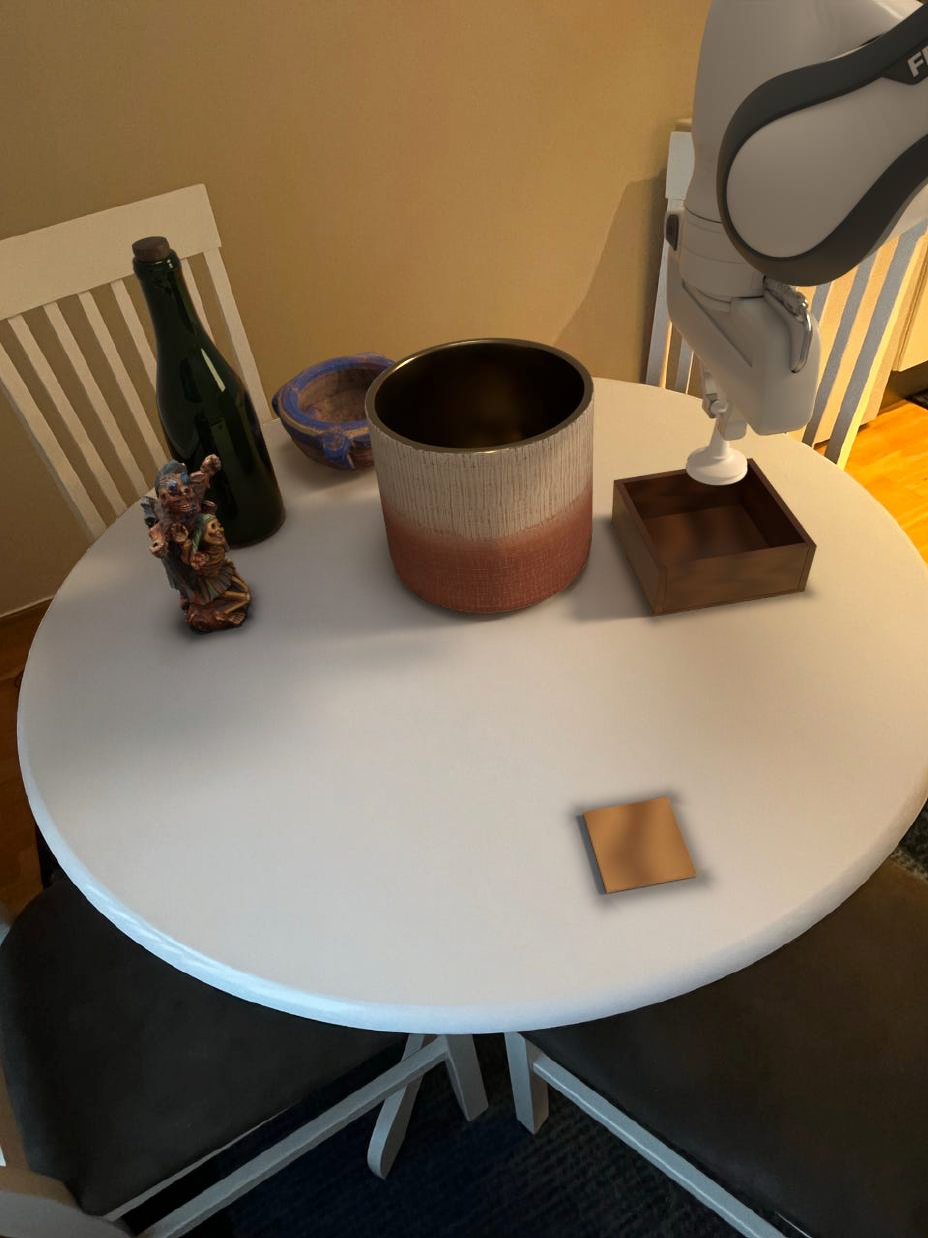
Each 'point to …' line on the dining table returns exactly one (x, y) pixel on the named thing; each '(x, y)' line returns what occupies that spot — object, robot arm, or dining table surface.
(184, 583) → the figurine
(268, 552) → the dining table surface
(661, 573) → the crate
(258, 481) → the green wine bottle
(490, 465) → the planter
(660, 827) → the coaster
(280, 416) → the bowl
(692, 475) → the chess piece
